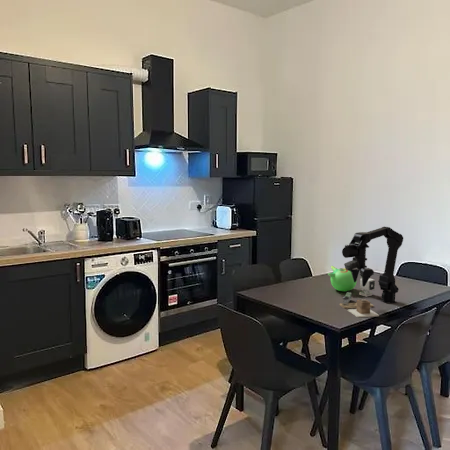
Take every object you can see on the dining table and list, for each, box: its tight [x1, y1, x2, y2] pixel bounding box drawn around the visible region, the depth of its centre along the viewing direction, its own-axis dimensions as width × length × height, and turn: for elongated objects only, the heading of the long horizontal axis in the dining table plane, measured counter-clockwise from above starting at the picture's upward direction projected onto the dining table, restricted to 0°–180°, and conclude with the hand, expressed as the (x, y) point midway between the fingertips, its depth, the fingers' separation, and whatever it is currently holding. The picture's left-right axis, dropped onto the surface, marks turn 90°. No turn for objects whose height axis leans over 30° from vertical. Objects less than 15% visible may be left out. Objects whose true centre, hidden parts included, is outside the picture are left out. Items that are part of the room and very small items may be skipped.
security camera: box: [358, 277, 376, 297], centre depth 261 cm, size 6×7×10 cm
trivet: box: [347, 308, 380, 318], centre depth 227 cm, size 12×11×1 cm
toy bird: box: [327, 265, 358, 292], centre depth 270 cm, size 18×17×15 cm
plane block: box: [339, 302, 374, 309], centre depth 239 cm, size 17×6×1 cm, turn 101°
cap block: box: [356, 298, 372, 314], centre depth 227 cm, size 5×5×7 cm
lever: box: [342, 291, 352, 305], centre depth 244 cm, size 16×3×4 cm, turn 156°
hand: (359, 284), depth 238 cm, fingers open, 9 cm apart
